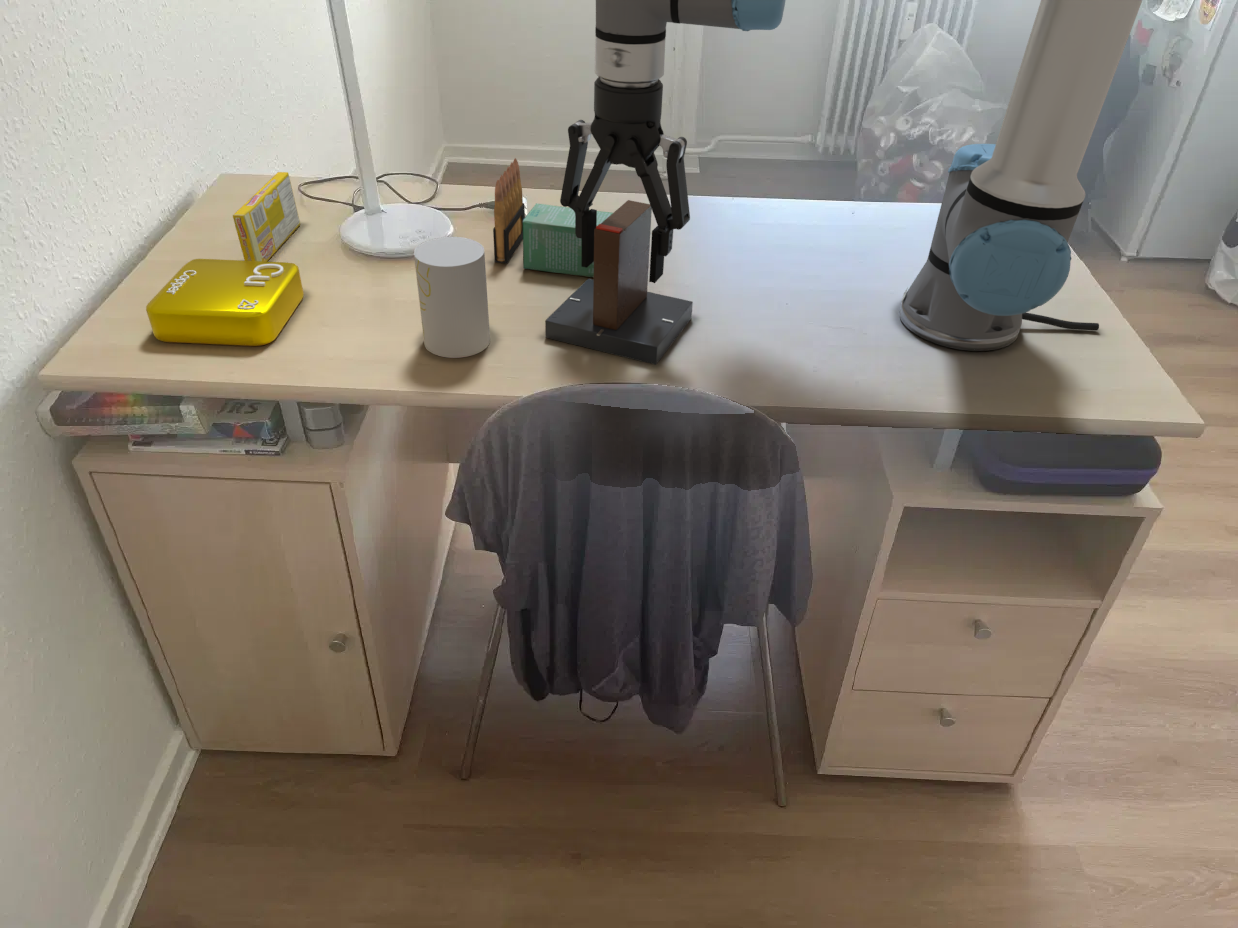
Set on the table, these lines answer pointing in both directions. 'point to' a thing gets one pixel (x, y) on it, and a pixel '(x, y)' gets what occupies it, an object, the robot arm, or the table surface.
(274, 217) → the candy box
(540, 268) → the box
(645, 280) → the brown red-tipped block
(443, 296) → the cup
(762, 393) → the table surface
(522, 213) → the ammunition clip
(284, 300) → the element tile
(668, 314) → the dark grey square slab
